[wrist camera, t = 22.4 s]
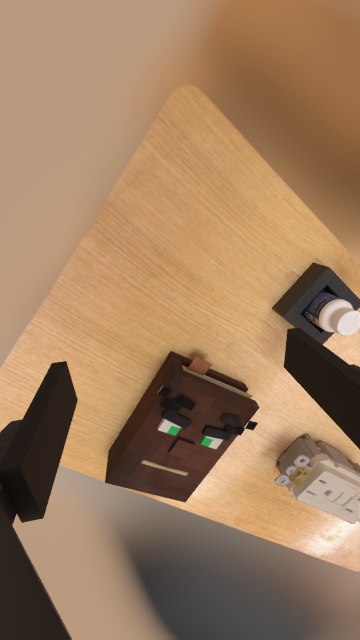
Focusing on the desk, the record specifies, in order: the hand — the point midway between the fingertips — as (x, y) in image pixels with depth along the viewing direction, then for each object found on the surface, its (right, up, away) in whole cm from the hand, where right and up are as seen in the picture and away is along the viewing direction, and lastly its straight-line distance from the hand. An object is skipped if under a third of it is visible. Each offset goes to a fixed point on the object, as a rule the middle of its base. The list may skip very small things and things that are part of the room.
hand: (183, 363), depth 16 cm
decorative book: (-1, -17, +37) cm, 41 cm away
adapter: (+23, +6, +32) cm, 39 cm away
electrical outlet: (+32, -31, +48) cm, 65 cm away
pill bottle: (+23, +6, +32) cm, 40 cm away
